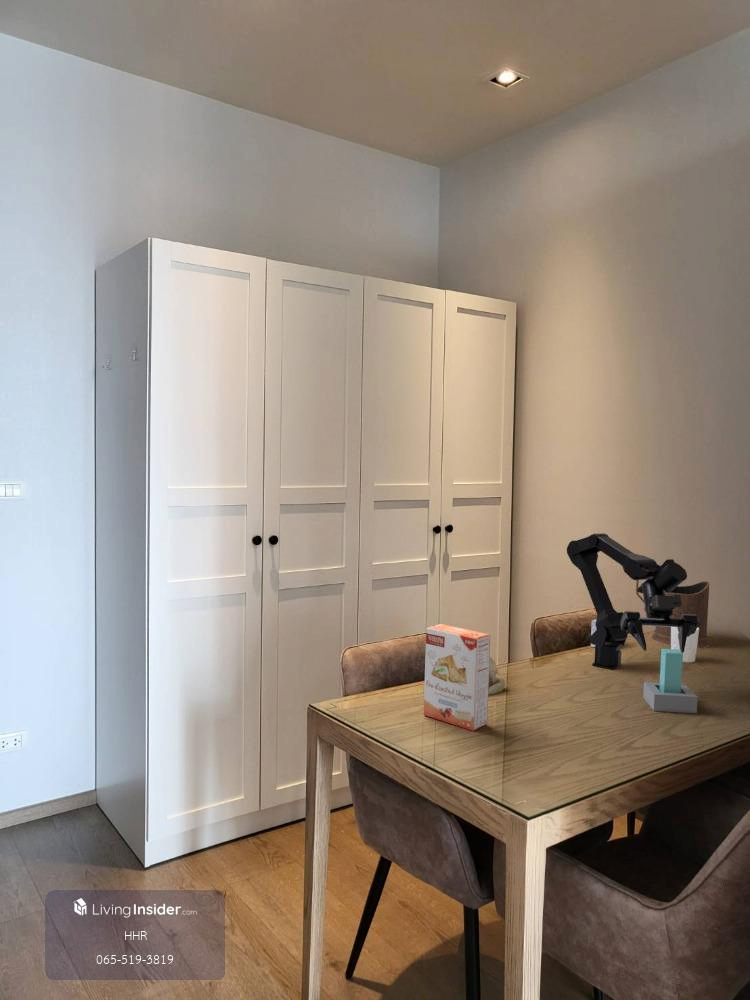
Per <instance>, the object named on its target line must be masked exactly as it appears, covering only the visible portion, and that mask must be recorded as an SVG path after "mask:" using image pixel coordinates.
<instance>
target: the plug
mask: <svg viewBox="0 0 750 1000" xmlns="http://www.w3.org/2000/svg"><path fill="white" fill-rule="evenodd" d="M660 652H661V653H660V671H659V672H660V673H659V683H660V687H659V691H660V692H664V693H681V684H682V683H683V682H682V679H683V677H682V676H683V663H684V662H683V653H681V652H680V651H679V650H677V649H671V648H661V651H660Z"/></svg>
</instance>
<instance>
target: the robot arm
mask: <svg viewBox="0 0 750 1000" xmlns="http://www.w3.org/2000/svg"><path fill="white" fill-rule="evenodd" d="M600 552H601V553H603V554H604V555H606V556H607V557H609V558H610V559H612V560H613V561H614V562H616V563H618V564H619V565H620V566H621V567H622V570H623V572H624V573H625V574H626V575H627V576H628V577H629V578H630V579H631V580H634V581H636V580H639V581H643V580H644V582H642V583H641V584H640V586H638V590H637V592H638V594H642V596H643V597H642V598H643V600H644V602H643V603H644V608H643V609H644V612H645V614H646V616H641V613H640V612H639V611H629V610H628V611H627V610H625V611H624V612H622V611H620V612H618V611H617V610H615V608H614V606H613V604H612V601H611V598H610V595H609V593H608V591H607V588H606V586H605V583H604V581H603V578H602V576H601V573H600V571H599V568H598V566H597V564H598V558H599V555H598V553H600ZM566 553H567V556H568V558H569V560H570V561H571V564H573V566H575V567H576V568H577V569H578V570H579V571H580V573H581V576H582V578H583V581H584V584H585V586H586V589H587V592H588V595H589V597H590V600H591V602H592V604H593V607H594V610H595V612H596V629H597V630H596V631H595V632H594V633H593V634H592V635H591V634H590V636H589V640H590V645H591V644H593V645H595V647H594V661H593V662H592V663H591V665H592V666H595V667H598V668H599V667H600V668H604V669H610V670H616V669H617V668H618V667H620V666H622V650H621V646H624V645H625V643H626V640H627V639H628V635H631V636H632V637H633V638H634V640H636V642H637V644H638V645H639V646H640V648H642V651H644V652H647V643H646V638H645V634H644V633H645V632H644V628H643V626H654V627H656V626H664V627H678V631H679V633H678V639H679V645H680V650H681V653H684V649H685V644H686V639H687V637H689V636H690V635H691V634H694V633H695V631H696V629H697V627H698V625H699V623H700V622H699V618H698V617H697V616H696V615H693V614H682V615H681V617H680V619H670V616H672V614H673V611H672V610H673V609H675V608H679V607H680V606H681V605H682V601H681V596H680V594H673V595H672V596H666V593H665V591H672V590H673V589H674V588H676V587H677V586H680V585H681V584H682V583H683V582H684V581H686V580H687V578H688V574H687V571H686V569H685V568H684V567H682V566H681V565H680V564H679V563H677V562H676V561H675V560H674V559H673V558H669V559H668V558H667V559H666V560H665V561H664V562H663V563H662V564H661V565H659V564H658V563H657V562H656V560H655V559H653V558H651V557H648V556H646V555H644V554H637V553H634V552H633V551H632V550H630V549H628V548H626V547H625V546H624V545H622V544H621V543H619V542H617V541H615V540H614V539H612V538H611V537H610V536H609V535H608V534H606V533H604V532H603V533H593V534H590V535H589V536H585V537H583V538H579V539H578V540H570V542H569V543H568V545H567V547H566Z"/></svg>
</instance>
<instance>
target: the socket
mask: <svg viewBox="0 0 750 1000" xmlns="http://www.w3.org/2000/svg"><path fill="white" fill-rule="evenodd" d="M659 687H660V682H653V681H652V682H649V681H644V682H643V695H642V696H643V697H642V698H643V699H644V700H645V702H646V703H647V705H648V706H649V707H650V708H651V709H652V711H654V712H668V713H670V712H671V713H683V714H684V713H685V714H689V713H690V714H698V696H697V695H696V694H695V692H693V690H691V689H690V688H689V686H687V684H684V683H681V693H664V692H660V691H659Z"/></svg>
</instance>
